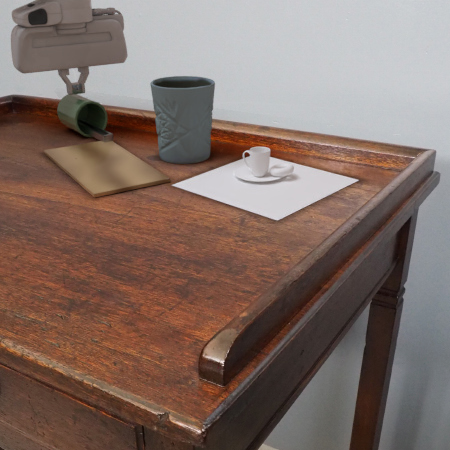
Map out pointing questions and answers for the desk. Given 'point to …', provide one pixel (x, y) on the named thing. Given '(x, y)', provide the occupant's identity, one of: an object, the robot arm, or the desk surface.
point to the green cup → (81, 112)
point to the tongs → (95, 131)
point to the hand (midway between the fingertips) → (76, 93)
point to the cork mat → (105, 168)
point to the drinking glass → (183, 117)
